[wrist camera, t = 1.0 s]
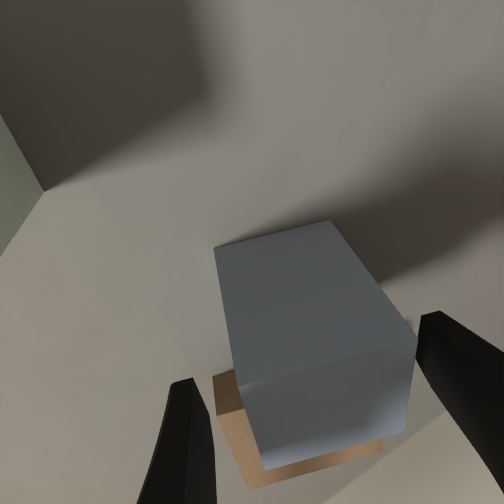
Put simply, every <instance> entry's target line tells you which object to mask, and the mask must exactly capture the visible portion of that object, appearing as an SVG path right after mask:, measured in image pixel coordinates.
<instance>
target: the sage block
mask: <svg viewBox="0 0 504 504" xmlns="http://www.w3.org/2000/svg"><path fill="white" fill-rule="evenodd" d="M43 193H44V191H43V189H42V187H41V185H40V184H39V182H38V180H37V178H36V177H35V175H34V173H33V171H32V169H31V168H30V166H29V164H28V162H27V161H26V159H25V157H24V155H23V154H22V152H21V150H20V148H19V146H18V145H17V143H16V141H15V139H14V138H13V136H12V134H11V132H10V131H9V129H8V127H7V125H6V123H5V122H4V120H3V118H2V116H1V115H0V256H1V255H2V253H3V252H4V250H5V249H6V247H7V246H8V244H9V243H10V241H11V240H12V238H13V237H14V236H15V234H16V233H17V231H18V230H19V228H20V227H21V225H22V224H23V222H24V221H25V219H26V218H27V216H28V215H29V214H30V212H31V211H32V209H33V208H34V206H35V205H36V203H37V202H38V200H39V199H40V197H41V196H42V194H43Z"/></svg>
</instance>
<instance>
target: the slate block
mask: <svg viewBox="0 0 504 504" xmlns="http://www.w3.org/2000/svg"><path fill="white" fill-rule="evenodd" d="M213 249H214V254H215V260H216V266H217V272H218V277H219V283H220V289H221V295H222V300H223V306H224V312H225V317H226V323H227V329H228V335H229V340H230V346H231V352H232V358H233V363H234V369H235V375H236V381H237V386H238V390H239V393H240V396H241V399H242V402H243V405H244V408H245V411H246V414H247V417H248V420H249V423H250V426H251V429H252V432H253V435H254V438H255V441H256V444H257V447H258V450H259V453H260V456H261V459H262V462H263V466H264V469H265V471H267V470H271V469H274V468H278V467H281V466H285V465H288V464H292V463H295V462H299V461H302V460H306V459H309V458H313V457H316V456H320V455H323V454H327V453H331V452H334V451H338V450H341V449H345V448H348V447H352V446H355V445H359V444H362V443H366V442H369V441H373V440H376V439H380V438H384V437H387V436H391V435H394V434H398V433H401V432H403V431H404V425H405V419H406V413H407V406H408V400H409V394H410V388H411V381H412V375H413V369H414V363H415V356H416V350H417V344H418V337H417V336H416V334H415V333H414V332H413V330H412V329H411V328H410V326H409V325H408V324H407V322H406V321H405V320H404V318H403V317H402V316H401V314H400V313H399V312H398V310H397V309H396V308H395V306H394V305H393V304H392V302H391V301H390V300H389V298H388V297H387V296H386V294H385V293H384V291H383V290H382V289H381V287H380V286H379V285H378V283H377V282H376V281H375V279H374V278H373V277H372V275H371V274H370V273H369V271H368V270H367V269H366V267H365V266H364V265H363V263H362V262H361V261H360V259H359V258H358V257H357V255H356V254H355V253H354V251H353V250H352V249H351V247H350V246H349V245H348V243H347V242H346V241H345V239H344V238H343V236H342V235H341V234H340V232H339V231H338V230H337V228H336V227H335V226H334V224H333V223H332V222H331V220H330V219H329V220H325V221H321V222H317V223H313V224H309V225H305V226H301V227H297V228H293V229H289V230H285V231H281V232H277V233H273V234H269V235H265V236H260V237H256V238H252V239H248V240H244V241H240V242H236V243H232V244H228V245H224V246H220V247H216V248H213Z"/></svg>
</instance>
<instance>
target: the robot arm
mask: <svg viewBox="0 0 504 504" xmlns="http://www.w3.org/2000/svg"><path fill="white" fill-rule="evenodd" d="M415 359H416V361H417V363H418V364H419V366H420V368H421V370H422V372H423V374H424V376H425V377H426V379H427V381H428V383H429V384H430V386H431V388H432V389H433V391H434V392H435V394H436V395H437V396H438V398H439V399H440V401H441V402H442V404H443V405H444V406H445V408H446V409H447V411H448V412H449V413H450V415H451V416H452V417H453V419H454V420H455V422H456V423H457V425H458V426H459V427H460V429H461V430H462V432H463V433H464V434H465V436H466V437H467V439H468V440H469V441H470V443H471V444H472V446H473V447H474V448H475V450H476V451H477V452H478V454H479V455H480V457H481V458H482V460H483V461H484V463H485V464H486V466H487V467H488V469H489V470H490V472H491V473H492V475H493V477H494V478H495V480H496V482H497V483H498V485H499V487H500V488H501V490H502V492H503V493H504V352H503V351H501V350H499V349H498V348H496V347H495V346H493V345H492V344H490V343H488V342H487V341H485V340H484V339H482V338H481V337H479V336H478V335H476V334H475V333H473V332H472V331H470V330H469V329H467V328H466V327H464V326H463V325H461V324H460V323H458V322H457V321H455V320H454V319H452V318H451V317H449V316H447V315H446V314H444V313H443V312H441V311H436V312H432V313H429V314H425V315H421V320H420V326H419V333H418V344H417V350H416V356H415ZM137 504H217V494H216V472H215V453H214V444H213V436H212V430H211V423H210V416H209V413H208V410H207V408H206V406H205V404H204V401H203V399H202V397H201V395H200V392H199V390H198V388H197V386H196V383H195V381H194V379H193V378H189V379H185V380H181V381H178V382H174V383H172V384H171V386H170V390H169V395H168V400H167V404H166V409H165V413H164V417H163V421H162V425H161V428H160V432H159V436H158V439H157V443H156V446H155V449H154V453H153V456H152V459H151V463H150V466H149V469H148V472H147V475H146V478H145V481H144V484H143V486H142V489H141V492H140V495H139V498H138V501H137Z"/></svg>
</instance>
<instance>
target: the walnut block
mask: <svg viewBox="0 0 504 504" xmlns="http://www.w3.org/2000/svg"><path fill="white" fill-rule="evenodd" d="M212 378H213V387H214V396H215V405H216V415H217V418H218V420H219V423H220V425H221V427H222V430H223V432H224V434H225V437H226V439H227V441H228V444H229V446H230V448H231V451H232V453H233V455H234V458H235V460H236V462H237V465H238V467H239V469H240V472H241V474H242V476H243V479H244V481H245V483H246V486H247V488H248V490H250V489H254V488H257V487H261V486H264V485H268V484H272V483H275V482H279V481H282V480H286V479H289V478H293V477H296V476H300V475H303V474H307V473H310V472H314V471H317V470H321V469H324V468H328V467H331V466H335V465H339V464H342V463H346V462H349V461H353V460H356V459H360V458H363V457H367V456H370V455H374V454H377V453H381V452H382V446H383V438H380V439H376V440H373V441H369V442H366V443H362V444H359V445H355V446H352V447H348V448H345V449H341V450H338V451H334V452H331V453H327V454H323V455H320V456H316V457H313V458H309V459H306V460H302V461H299V462H295V463H292V464H288V465H285V466H281V467H278V468H274V469H271V470H267V471H265V469H264V466H263V462H262V459H261V456H260V453H259V450H258V447H257V444H256V441H255V438H254V435H253V432H252V429H251V426H250V423H249V420H248V417H247V414H246V411H245V408H244V405H243V402H242V399H241V396H240V393H239V390H238V386H237V381H236V375H235V371H232V372H228V373H224V374H220V375H217V376H213V377H212Z"/></svg>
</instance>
